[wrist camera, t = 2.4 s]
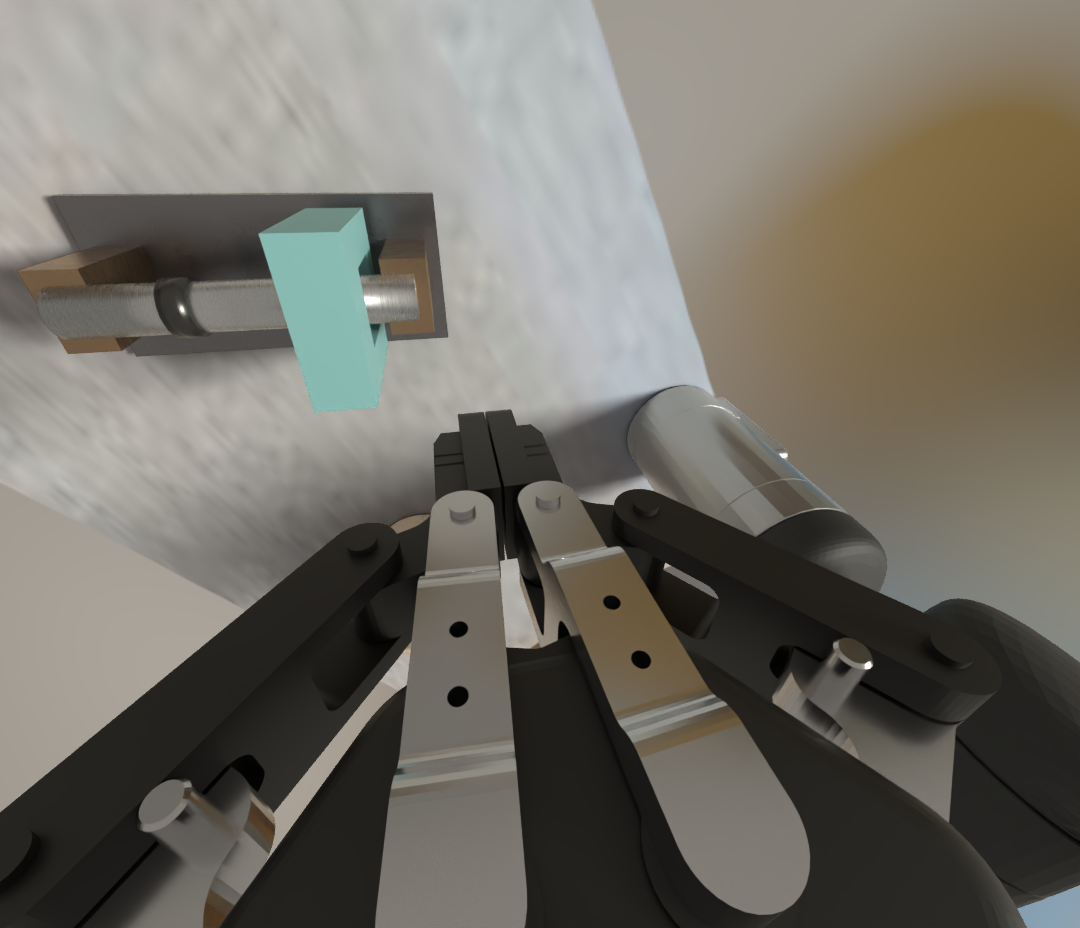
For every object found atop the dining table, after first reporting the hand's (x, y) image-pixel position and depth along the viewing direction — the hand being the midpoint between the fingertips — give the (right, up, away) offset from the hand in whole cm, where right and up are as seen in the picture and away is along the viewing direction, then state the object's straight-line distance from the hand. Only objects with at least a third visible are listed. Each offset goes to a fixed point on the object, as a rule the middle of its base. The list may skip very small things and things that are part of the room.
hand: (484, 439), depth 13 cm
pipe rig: (-15, +12, +16) cm, 25 cm away
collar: (-10, +10, +15) cm, 20 cm away
